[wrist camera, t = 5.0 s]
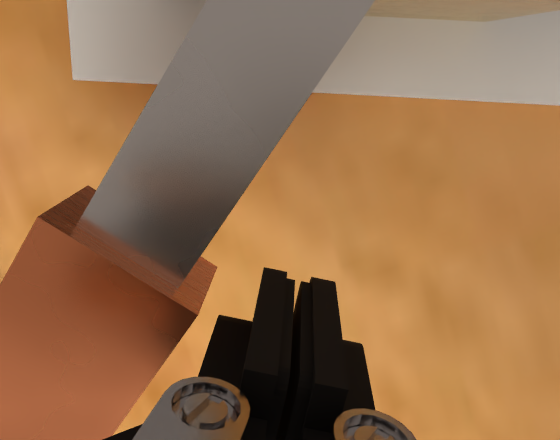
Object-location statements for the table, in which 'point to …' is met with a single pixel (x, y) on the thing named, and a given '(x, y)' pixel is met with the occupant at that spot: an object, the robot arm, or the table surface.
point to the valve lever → (154, 218)
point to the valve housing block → (461, 9)
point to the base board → (341, 52)
